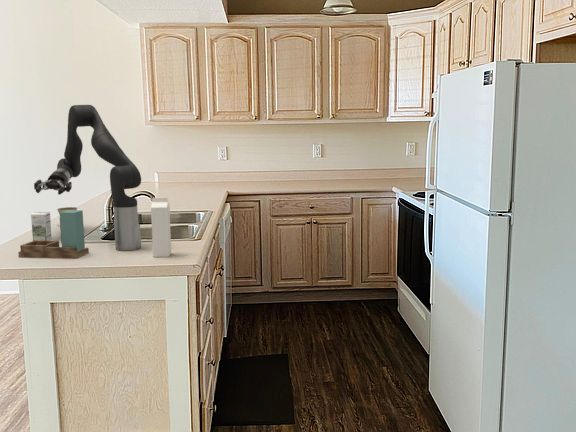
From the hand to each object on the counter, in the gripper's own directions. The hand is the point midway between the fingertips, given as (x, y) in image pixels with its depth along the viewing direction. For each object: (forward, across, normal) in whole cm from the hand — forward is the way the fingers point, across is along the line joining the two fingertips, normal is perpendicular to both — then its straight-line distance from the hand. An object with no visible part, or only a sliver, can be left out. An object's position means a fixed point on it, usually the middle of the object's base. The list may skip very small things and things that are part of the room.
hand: (48, 191), depth 237 cm
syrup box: (+12, 0, +20) cm, 23 cm away
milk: (+30, +50, +11) cm, 59 cm away
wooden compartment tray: (+25, +9, +16) cm, 31 cm away
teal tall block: (+27, +16, +13) cm, 34 cm away
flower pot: (-40, -3, +33) cm, 52 cm away
